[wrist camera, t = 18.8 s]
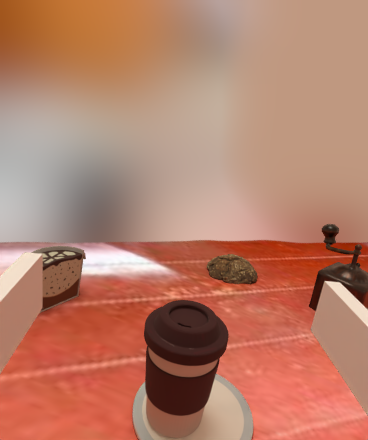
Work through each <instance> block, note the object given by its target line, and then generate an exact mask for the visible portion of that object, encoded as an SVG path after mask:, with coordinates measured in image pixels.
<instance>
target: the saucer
mask: <svg viewBox="0 0 368 440" xmlns="http://www.w3.org/2000/svg"><path fill="white" fill-rule="evenodd" d="M146 398H147V394H146V390H145V382H144V383H143V384H142V386H141V387H140V388H139V390H138V392H137V394H136V397H135V399H134V404H133V412H132V420H133V427H134V430H135V434H136V436H137V438H138V440H251V438H252V434H253V419H252V414H251V411H250V408H249V406H248V404H247V402H246V400H245V398H244V397H243V395H242V394H241V393H240V392H239V390H238V389H237V388H236V387H235V386H234V385H233V384H231V383H230V382H229V381H227V380H226V379H224V378H223V377H221V376H219V375H218V374H216V375H215V379H214V382H213V386H212V390H211V393H210V397H209V400H208V402H207V404H206V405H205V408H204V412H203V416H202V419H201V422H200V425H199V426H198V428H197V429H196V430H195V431H194V432H193V433H192V434H190V435H188V436H186V437H182V438H169V437H166V436H163V435H161V434H159V433H158V432H157V431H155V430H154V429H153V428H152V427H151V425H150V423H149V422H148V419H147V415H146Z"/></svg>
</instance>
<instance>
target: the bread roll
mask: <svg viewBox="0 0 368 440" xmlns="http://www.w3.org/2000/svg"><path fill="white" fill-rule="evenodd" d="M207 268H208V269H209V274H210V276H211V277H212V278H215V279H218V280H223V281H224V282H227V283H233V284H241V283H245V284H252V283H255V282H256V281H257V272H256V271H255V270H254V268H253V267H252V265H251V264H250V263H249V262H248V261H247V260H245V259H243V258H242V257H240V256H237V255H233V254H231V255H230V254H228V255H222V256H218V257H216V258H214V259H212V260H211V261H210V262H208V265H207Z"/></svg>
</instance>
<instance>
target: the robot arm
mask: <svg viewBox="0 0 368 440" xmlns="http://www.w3.org/2000/svg"><path fill="white" fill-rule="evenodd" d="M42 302H43V254H38V253H27V252H25V253H24V254H22V255H21V256H20V257H19V258H18V259H17V260H16V261H15V262H14V263H13V264H12V265H11V266H10V267H9V268H8V269H7V270H6V271H5V272H4V273H3V274H2V275H1V276H0V373H1V372H2V370H3V369H4V367H5V366H6V364H7V363H8V361H9V359H10V358H11V356H12V355H13V353H14V352H15V350H16V348H17V347H18V345H19V344H20V342H21V341H22V339H23V337H24V336H25V334H26V333H27V331H28V330H29V328H30V327H31V325H32V323H33V322H34V320H35V319H36V317H37V316H38V314H39V312H40V311H41V309H42ZM311 331H312V333H313V334H314V336H315V337H316V339H317V340H318V342H319V343H320V345H321V346H322V348H323V349H324V351H325V352H326V354H327V355H328V357H329V358H330V360H331V361H332V363H333V364H334V366H335V367H336V369H337V370H338V372H339V373H340V375H341V376H342V378H343V379H344V381H345V382H346V384H347V385H348V387H349V388H350V390H351V391H352V393H353V394H354V396H355V397H356V399H357V400H358V402H359V403H360V405H361V406H362V408H363V409H364V411H365V412H366V414H367V415H368V309H366V308H365V307H364V306H363V305H362V304H361V303H360V302H359V301H358V300H357V299H356V298H355V297H354V296H353V295H352V294H351V293H350V292H349V291H348V290H347V289H346V288H345V287H344V286H343V285H342V284H341V283H340V282H330V281H324V285H323V288H322V292H321V295H320V299H319V302H318V306H317V309H316V313H315V316H314V320H313V323H312V327H311Z"/></svg>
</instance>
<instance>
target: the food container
mask: <svg viewBox="0 0 368 440" xmlns="http://www.w3.org/2000/svg"><path fill="white" fill-rule="evenodd" d="M32 253H38V254H43V302H42V309H41V311H40V312H39V313H41V312H43V311H46V310H48V309H50V308H52V307H55V306H57V305H59V304H62V303H64V302H66V301H69V300H71V299H73V298H75V297H78V295H79V288H80V280H81V272H82V265H83V259H86V257H85V253H84V250H82V249H79V248H75V247H69V246H52V247H46V248H41V249H38V250H36V251H33V252H32Z"/></svg>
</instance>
